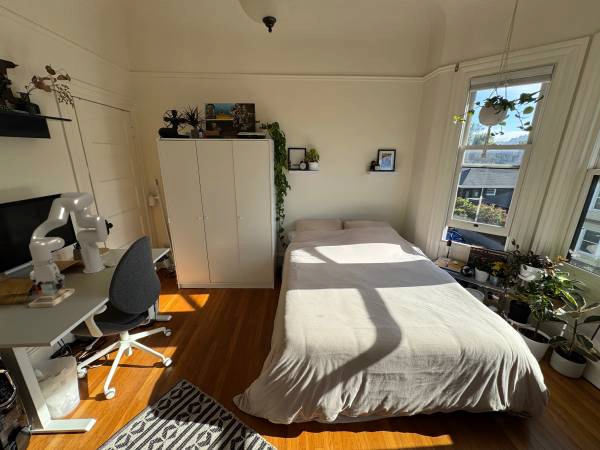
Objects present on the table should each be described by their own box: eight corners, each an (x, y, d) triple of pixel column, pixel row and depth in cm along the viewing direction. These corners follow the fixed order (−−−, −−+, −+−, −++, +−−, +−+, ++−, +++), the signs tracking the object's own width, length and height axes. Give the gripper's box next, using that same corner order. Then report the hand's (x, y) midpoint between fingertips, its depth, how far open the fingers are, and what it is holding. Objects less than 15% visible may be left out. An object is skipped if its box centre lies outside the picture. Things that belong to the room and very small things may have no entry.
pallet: (52, 291, 147) (49, 279, 145) (65, 291, 148) (62, 278, 146) (39, 299, 138) (35, 286, 136) (52, 299, 139) (49, 286, 137)
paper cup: (41, 295, 147) (35, 274, 144) (31, 293, 149) (25, 273, 145) (56, 289, 155) (50, 269, 151) (46, 287, 156) (41, 267, 152)
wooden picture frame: (53, 292, 151) (52, 288, 150) (74, 291, 152) (74, 288, 151) (29, 307, 135) (28, 303, 135) (53, 306, 137) (52, 302, 136)
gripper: (65, 259, 142) (72, 285, 147) (32, 260, 140) (40, 286, 144) (54, 264, 135) (61, 291, 139) (19, 265, 133) (28, 293, 137)
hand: (50, 289), depth 142 cm, fingers open, 9 cm apart
